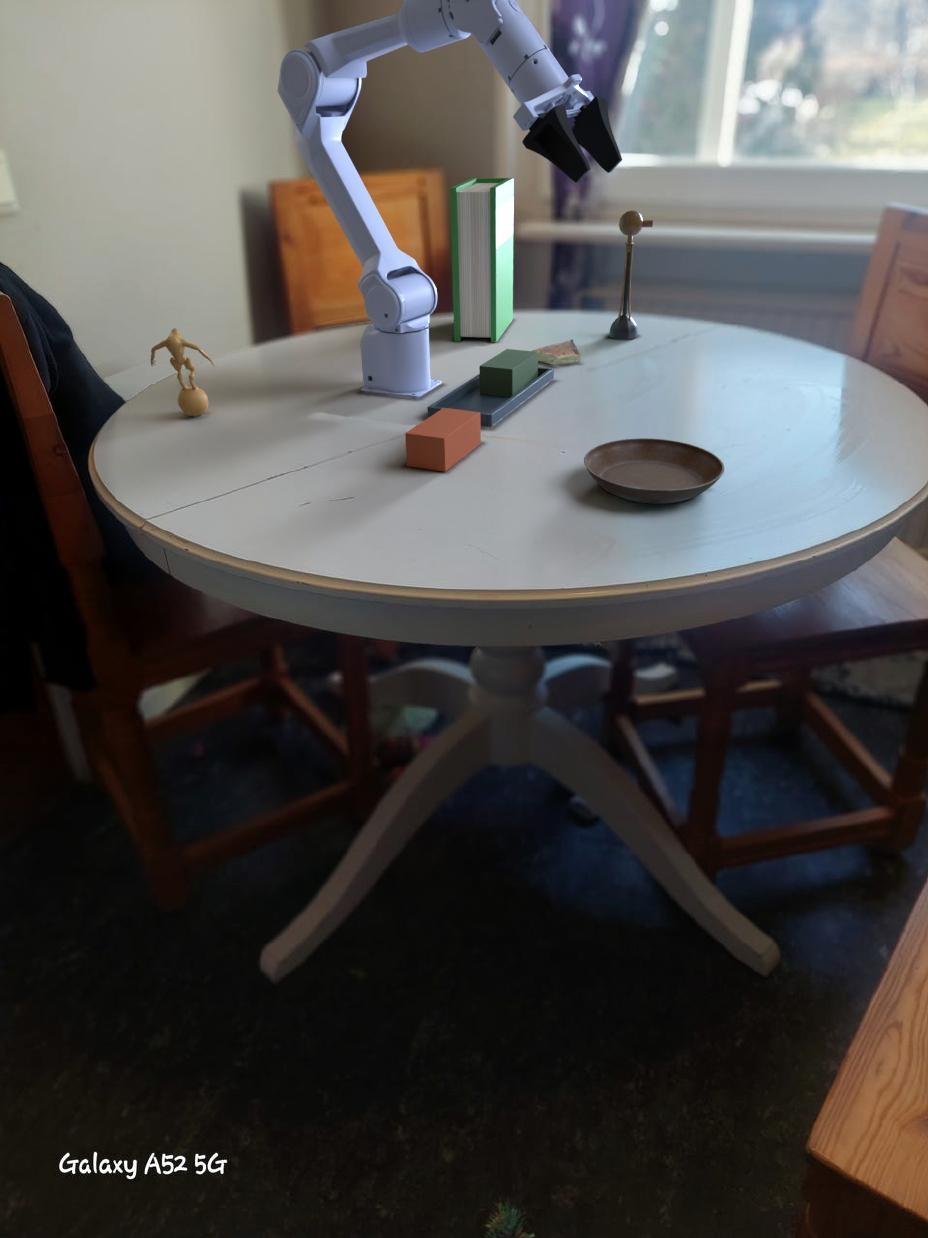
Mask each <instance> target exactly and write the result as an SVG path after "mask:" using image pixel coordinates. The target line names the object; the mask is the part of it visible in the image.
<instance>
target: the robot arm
mask: <svg viewBox="0 0 928 1238" xmlns="http://www.w3.org/2000/svg"><path fill="white" fill-rule="evenodd" d="M471 35H472V36H473V38H474V39H475V41H476V42H477V43H478V45H479V46H480V48H481V49H482V51H483V52H484V54H485V55H486V57H487V58H488V59H489V61H490V63H491V65H493V67H494V69H495V70H496V71H497V73H498V74H499V76H500V77H501V79H502V80H503V81H504V83H505V84H506V86H507V87H508V89H509V90H510V91H511V93H512V95H513V96H514V97H515V99H516V100H517V101H518V103H519V104H520V107H518V109H517V110H516V112H515V113H514V114H513V116H512V118H513V120H514V121H515V122H516V123H517V125H518V127H519V128H520V130H522V132H525V131H528V130H529V131H528V132H527V134H526V135H525V136H524V138H523V139H522V142H521V143H522V145H523V147H524V148H526V150H529V151H531V152H534V153H536V154H537V155H540V156H542V157H543V158H544V159H546V160H547V161H549V162H550V163H552V164H553V166H554V165H555V167H556V168H557V169H559V170H560V171H561V172H562V173H563V174H564V175H566V177H568V178H569V179H570V180H571V181H573V182H574V183H575V184H578V183H580V182H581V181H582V180H583V179H584V178H585V176H586V175H587V174H588V173H589V172H590V171H591V165H590V163H589V161H588V158H587V157H586V155H585V153H584V151H583V150H582V148H583V149H584V150H585V151H586V152H587V153H588V154H589V155H590V156H591V158H592V159H593V160H594V161H595V162H596V164H598V165H599V167H600V168H601V169H603V171H605V173H607V174H610V173H612V172H613V171H614V170H615V168H616V167H617V166H619V165H620V163H621V162H622V161H623V157H622V153H621V151H620V148H619V146H618V144H617V141H616V138H615V136H614V132H613V130H612V129H613V128H612V126H611V122H610V116H609V109H608V100H607V99H606V98H605V96H604V94H600V95H595V96H594V95H593V94H592V93H591V91H590V90H584V89H583V88H581V86H579V85H580V84H581V82H582V81H583V78H582V76H581V74H579V73H576V74H572V75H570V76H568V74H567V73H566V72H565V70H564V69H563V67H562V66H561V65H560V63H559V62H558V60H557V59H556V57H555V56H554V54H553V53H552V52H551V50H550V48H549V47H548V45H547V44H546V43H545V41H544V40H543V38H542V37H541V35H540V34H539V33H538V31H537V29H536V28H535V26H534V25H533V24H532V22H531V21H530V20H529V18H528V17H527V15H526V14H525V13H524V11H523V10H522V8H521V7H520V5H519V4H518V0H403V1H402V3H401V6H400V9H399V12H398V13H395V14H392V15H391V14H390V15H388V16H385V17H382V18H379V19H375V20H372V21H369V22H365V23H362V24H361V23H360V24H358V25H355V26H352V27H348V28H345V29H342V30H338V31H336V32H332V33H330V34H327V35H324V36H319V37H317V38H314V39H312V40H309V41H308V42H305V44H303V46H302V47H303V48H306V49H308V50H305V49H300V48H294V49H291V50H290V51H288V52H287V53H286V54H285V55H284V57H283V59H282V61H281V63H280V68H279V76H278V82H277V83H278V84H277V93H278V95H279V97H280V99H281V101H282V103H283V104H284V107H285V109H286V110H287V112H288V114H289V118H290V121H291V125H292V130H293V134H294V139H295V142H296V146H297V148H298V150H299V152H300V155H301V156H302V158H303V160H304V162H305V164H306V166H307V167H308V169H309V171H310V172H311V175H312V177H313V178H314V180H315V182H316V184H317V186H318V188H319V190H320V191H321V193H322V195H323V197H324V199H325V201H326V202H327V204H328V207H329V208H330V210H331V212H332V214H333V216H334V218H335V219H336V222H337V223H338V225H339V226H340V228H341V230H342V232H343V234H344V236H345V237H346V240H347V241H348V243H349V245H350V248H351V249H352V250H353V252H354V254H355V256H356V258H357V260H358V261H359V264H360V265H361V268H362V272H361V273H360V277H359V280H358V282H357V288H358V289H359V291H360V293H361V295H362V299H363V305H364V309H365V312H366V316H367V317H368V319H369V321H370V322H371V323H372V324H370V325H368V326H366V327H365V329H364V330H363V332H362V335H361V338H360V360H361V372H362V382H363V383H362V386H363V387H361V388H360V391H361V392H366V393H373V394H374V393H375V394H382V395H390V396H399V397H406V398H407V397H408V398H414V399H415V398H420V397H422V396H424V395H426V394H427V393H428V392H430V391H432V390H434V389H435V388H437V387H438V386H440V385H441V384H442V383H443V381H442V380H437V379H431V357H430V356H431V355H430V353H431V352H430V332H429V331H430V329H429V324H430V323H431V314H433V313H434V312H435V310H436V308H437V305H438V291H437V286H436V284H435V283H434V281H433V279H432V278H431V277H430V276H429V275H427V274H426V273H425V272H424V271H423V270H422V269H421V268H420V266H419V264H418V263H417V261H416V259H414V258H413V257H412V256H410V255H409V254H407V253H405V252H404V251H402V250H401V249H399V247H398V246H397V244H396V243H395V240H394V239H393V237H392V235H391V233H390V231H389V229H388V226H387V225H386V223H385V221H384V219H383V218H382V216H381V214H380V212H379V211H378V208H377V207H376V204H375V202H374V201H373V199H372V197H371V195H370V193H369V192H368V190H367V188H366V186H365V184H364V182H363V180H362V178H361V177H360V174H359V173H358V170H357V168H356V166H355V165H354V163H353V161H352V159H351V158H350V156H349V153H348V151H347V150H346V148H345V146H344V144H343V142H342V134H343V132H344V130H345V129H346V126H347V124H348V122H349V119H350V117H351V114H352V113H353V110H354V108H355V105H356V103H357V101H358V98H359V95H360V92H361V89H362V79H365V78H367V75H368V70H367V69H368V68H367V67H368V66H367V62H368V61H371V60H373V59H376V58H378V57H380V56H384V55H385V54H388V53H390V52H394V51H396V50H398V49H400V48H403V47H406V46H409V47H410V48H411V49H412V50H414V51H415V52H417V53H422V54H423V53H426V52H428V51H432V50H435V49H438V48H441V47H443V46H447V45H450V44H452V43H453V44H454V43H456V42H459V41H462V40H465V39H467V38H468V37H470V36H471ZM569 118H572V119H573V124H574V125H573V126H571V124H570V121H569ZM581 147H582V148H581Z"/></svg>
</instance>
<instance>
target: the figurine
mask: <svg viewBox="0 0 928 1238" xmlns="http://www.w3.org/2000/svg"><path fill="white" fill-rule="evenodd" d="M163 348H166V349H167V350H168V352H169V354H170V355H171V356H172V357H170V358H169V362H170V365H171V367H173V369H174V371H176V372H177V374H176V379H177V380H178V383H179V385H180V388H181V390H180V391H179V394H178V396H177V404H178V408H179V409H180V410H181V412H183V413H184V414H185V415H187V416H190V417H199V416H201V415H203V414H204V413H206V411H207V410H208V407H209V402H210V401H209V397H208V394H207V393H206V391H204V389H202V388H201V387H198V385H197V384H195V383H194V379H195V372H196V371H195V370H196V367H195V366H194V364H193V363H192V359H191V358H190V357H189V356H187V357H186V358H185V350H186V348H188V349H191V350H195V351H198V353H199V354H200V355H202V356H203V358H205V359H207V360H208V361H209V362H210V363H211V365H212V366H213V367H214V366H215V364H214V362H213V360H212V358H211V357H210V356H209V355H208V354H207V353H206V352H205V351H203V349H202V348H201V347H199V346H198V345H196V344H194V343H192V342H190V341H187V340H185V339H183V338H182V337H181V335H180V331H179V330H178V329H177V328H172V329H171V331H170V334H169V335H168V336H167V338H165V339H163V340H162V341H160V342H159V343H157V344H156V345H155V344H154V346H152V348H151V349H150V352H151V354H150V366H151V367H154V366H156V363H155V362H157V361H156V360H155V358H156V351H158V350H160V349H163ZM183 366H184V368H185V370H187V371H189V372H190V373H189V375H188V379H189V384H190V385H189V386H188V385H186V384H185V383H184V381H183V374H182V368H183Z"/></svg>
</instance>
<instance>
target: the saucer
mask: <svg viewBox="0 0 928 1238" xmlns="http://www.w3.org/2000/svg"><path fill="white" fill-rule="evenodd" d="M583 464H584V467H585V468H586V470H587V472H588V473H589V475H590V476H591V477H592V479H593V480H594V481H595V482H596V483H597V484H598V485H599V486H601V487H602V488H603V489H604V490H606V491H607V492H608V493H610V494H611V495H613V496H616V497H618V498H621V499H623V500H626V501H631V502H635V503H641V504H642V503H643V504H651V505H653V504H654V505H666V504H675V503H680V502H685V501H689V500H691V499H694V498H696V497H698V496H700V495H702V493H704V492H706V491H707V490H709V489H710V488H711V487H713V486H714V485H715V484H716V482H718V481H719V480H720V478H721V477H722V476H723V474H724V473H725V470H726V469H725V464H724V462H723V461H722V459H720V458H719V457H718V456H717V455H715V454H714V453H713V452H711V451H709V450H707V449H705V448H702V447H699V446H697V445H694V444H690V443H687V442H682V441H677V440H670V439H664V438H650V437H649V438H648V437H647V438H646V437H644V438H642V437H641V438H640V437H639V438H625V439H617V440H613V441H612V440H611V441H608V442H605V443H602V444H599V445H597V446H595V447H593V448H591V449H590V450H589V451H587V452H586V453H585V455H584V458H583Z"/></svg>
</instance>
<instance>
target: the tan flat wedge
mask: <svg viewBox="0 0 928 1238" xmlns="http://www.w3.org/2000/svg"><path fill="white" fill-rule="evenodd" d="M531 351H534V352H538V362H542V363H546V364H549V365H552V366H555V365H559V364H567V363H568V364H570V363H579V362H580V360H581V359H582V358H581V354H580V352H579V349H578V346H577V345H576V343H574V339H570V340H565V341H561V342H558V343H554V344H549V345H545V346H543V347H538V348H536V349H532V350H531Z"/></svg>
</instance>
